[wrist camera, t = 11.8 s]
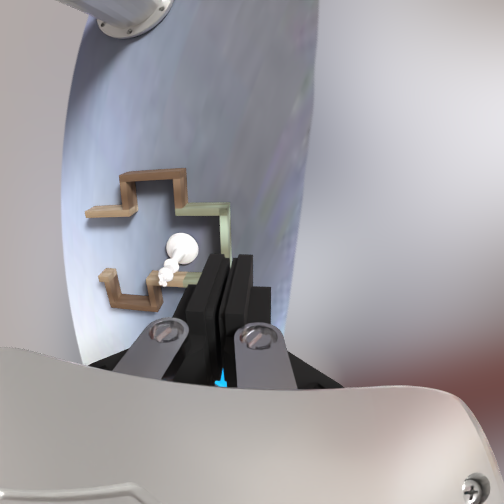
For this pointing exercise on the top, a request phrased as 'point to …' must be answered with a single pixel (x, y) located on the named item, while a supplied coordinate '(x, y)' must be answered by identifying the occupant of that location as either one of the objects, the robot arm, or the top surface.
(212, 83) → the top surface
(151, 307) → the box
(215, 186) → the top surface
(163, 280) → the chess piece
